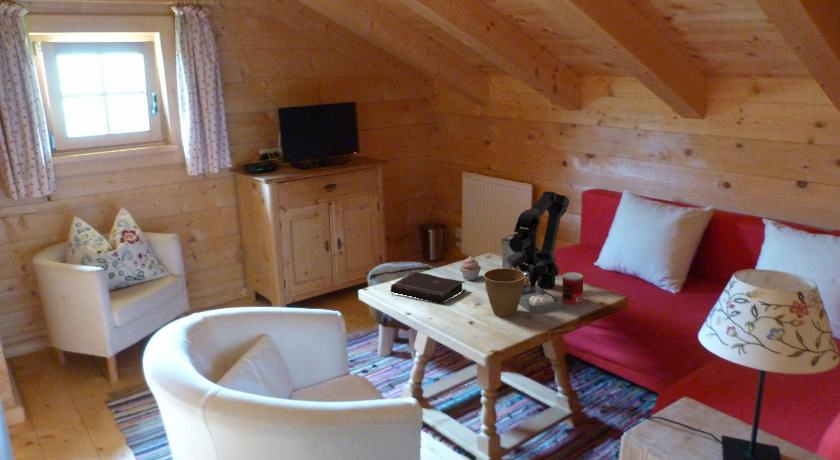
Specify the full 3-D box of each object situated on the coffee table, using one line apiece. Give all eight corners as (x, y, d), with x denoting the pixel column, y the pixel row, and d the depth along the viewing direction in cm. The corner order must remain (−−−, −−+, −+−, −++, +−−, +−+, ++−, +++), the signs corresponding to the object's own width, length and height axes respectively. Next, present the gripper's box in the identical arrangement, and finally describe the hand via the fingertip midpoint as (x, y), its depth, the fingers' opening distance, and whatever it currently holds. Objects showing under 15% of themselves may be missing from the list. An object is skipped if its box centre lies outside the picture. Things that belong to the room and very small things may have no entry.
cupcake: (469, 273, 293) (469, 251, 290) (485, 277, 286) (485, 255, 284) (455, 278, 287) (454, 256, 284) (471, 283, 280) (470, 260, 278)
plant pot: (481, 309, 252) (480, 269, 247) (519, 306, 253) (519, 267, 248) (488, 324, 237) (487, 282, 233) (529, 321, 238) (529, 279, 234)
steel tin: (531, 286, 261) (531, 269, 259) (538, 290, 256) (538, 273, 254) (518, 288, 260) (518, 271, 258) (525, 292, 254) (525, 275, 252)
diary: (442, 306, 258) (442, 294, 256) (390, 296, 271) (390, 284, 270) (466, 291, 272) (466, 279, 271) (416, 281, 286) (415, 270, 285)
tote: (534, 292, 267) (534, 284, 266) (561, 310, 248) (561, 301, 247) (506, 296, 263) (506, 288, 262) (531, 315, 244) (531, 306, 243)
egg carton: (547, 303, 253) (547, 292, 252) (554, 307, 248) (554, 296, 247) (528, 306, 250) (528, 295, 249) (535, 310, 246) (535, 299, 245)
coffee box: (510, 268, 297) (510, 234, 293) (524, 270, 294) (524, 235, 290) (501, 274, 290) (501, 239, 286) (515, 276, 287) (515, 240, 282)
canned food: (583, 299, 257) (584, 272, 254) (581, 307, 250) (582, 279, 247) (563, 298, 260) (564, 271, 257) (560, 305, 252) (561, 278, 250)
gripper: (499, 242, 259) (499, 279, 263) (521, 254, 242) (521, 294, 246) (524, 238, 263) (524, 275, 267) (548, 250, 246) (547, 290, 250)
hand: (528, 283), depth 257 cm, fingers closed on steel tin, 6 cm apart
